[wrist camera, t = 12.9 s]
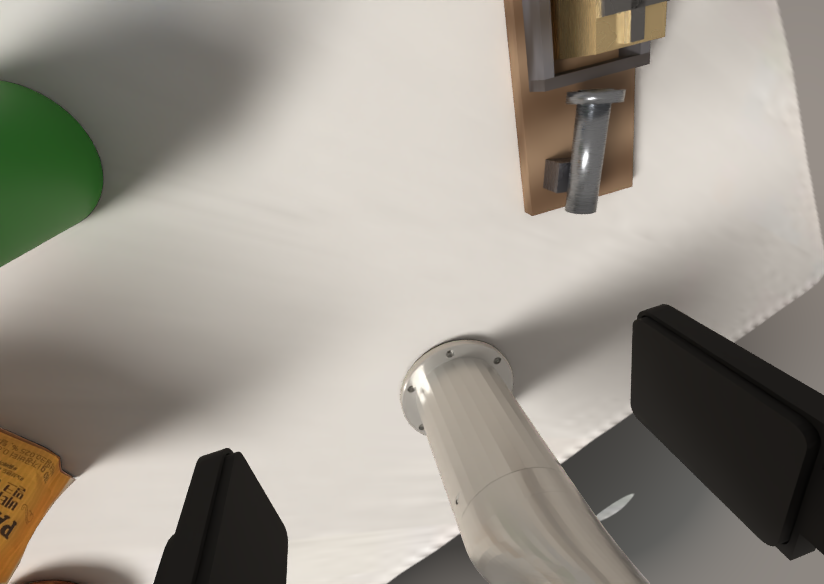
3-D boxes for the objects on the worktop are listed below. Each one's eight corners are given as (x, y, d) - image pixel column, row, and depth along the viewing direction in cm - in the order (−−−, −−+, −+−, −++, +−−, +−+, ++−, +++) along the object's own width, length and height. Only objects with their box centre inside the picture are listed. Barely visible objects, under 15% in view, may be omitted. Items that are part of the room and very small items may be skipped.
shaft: (537, 91, 35) (587, 90, 29) (581, 88, 35) (638, 87, 29) (529, 199, 39) (571, 219, 33) (569, 195, 39) (617, 213, 33)
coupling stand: (621, 183, 40) (651, 191, 37) (524, 211, 39) (546, 223, 36) (626, -262, 27) (674, -316, 23) (480, -235, 26) (507, -287, 22)
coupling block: (607, -32, 31) (677, -61, 25) (607, 46, 33) (671, 35, 27) (544, -17, 30) (601, -43, 24) (549, 61, 33) (602, 53, 27)
